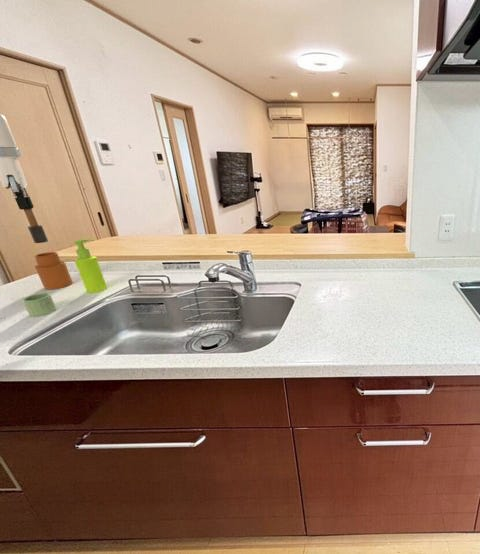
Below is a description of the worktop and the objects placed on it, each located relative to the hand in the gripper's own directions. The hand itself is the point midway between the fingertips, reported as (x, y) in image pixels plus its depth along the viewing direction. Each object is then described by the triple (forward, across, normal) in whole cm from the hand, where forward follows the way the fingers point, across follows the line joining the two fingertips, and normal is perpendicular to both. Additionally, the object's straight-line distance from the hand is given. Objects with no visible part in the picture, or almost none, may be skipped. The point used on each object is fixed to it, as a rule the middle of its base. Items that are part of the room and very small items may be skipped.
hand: (26, 208), depth 106 cm
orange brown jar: (+30, 0, 0) cm, 30 cm away
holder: (+30, +28, -2) cm, 41 cm away
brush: (+13, 0, 0) cm, 13 cm away
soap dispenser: (+31, +16, +12) cm, 37 cm away
